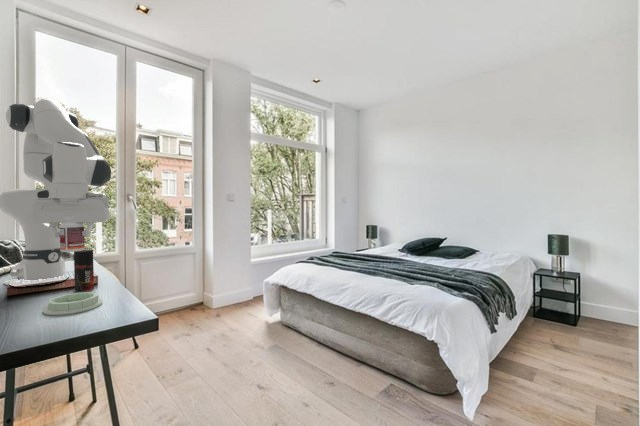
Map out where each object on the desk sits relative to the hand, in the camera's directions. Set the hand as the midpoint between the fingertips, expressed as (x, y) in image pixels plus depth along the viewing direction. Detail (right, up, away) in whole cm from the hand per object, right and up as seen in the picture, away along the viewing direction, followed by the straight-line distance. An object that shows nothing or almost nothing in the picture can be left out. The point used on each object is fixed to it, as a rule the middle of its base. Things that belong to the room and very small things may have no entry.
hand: (72, 237), depth 101 cm
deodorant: (-12, -22, +21) cm, 33 cm away
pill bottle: (0, -5, 0) cm, 5 cm away
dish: (0, -22, +1) cm, 22 cm away
